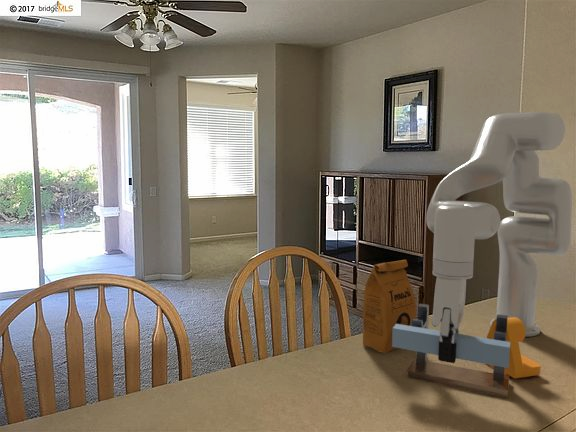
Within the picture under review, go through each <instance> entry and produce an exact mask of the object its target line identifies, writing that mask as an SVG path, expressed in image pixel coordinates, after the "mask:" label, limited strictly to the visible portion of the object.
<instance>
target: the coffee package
mask: <svg viewBox="0 0 576 432" xmlns="http://www.w3.org/2000/svg"><path fill="white" fill-rule="evenodd" d="M408 266H409V264H408V261H407V259H401V260H396V261H389V262H382V263H377V264H374V265H373V266H372V269H371V271H370V273H369V276H368V278H367V280H366V283H365V287H364V293H363V308H362V345H363V346H364V347H368V348H372V349H373V350H375V351H377V352H378V353H379V352H381V353H383V354H386V353H389V352H392V351H395V350H396V351H397V350H403V349H402V348H396V347H392V332H393V327H394V326H395V325H396V324H401V325H407V326H412V320H413V319H416V316H417V303H416V302H417V301H416V297H415V294H414V293H415V292H414V291H413V287H412V285H411V283H410V281H409V276H408V274H407V271H406V270H405V268H408Z"/></svg>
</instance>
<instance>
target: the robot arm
mask: <svg viewBox="0 0 576 432" xmlns="http://www.w3.org/2000/svg"><path fill="white" fill-rule="evenodd" d="M565 129H566V127H565V122H564V119H563V118H562V116H561V115H560V114H558V113H556V112H546V111H545V112H544V111H529V112H528V111H526V112H525V111H524V112H507V113H499V114H497V113H496V114H494V115H492V116H490V117H489V118H487V119H486V120H485V121H484V123H483V125H482V127H481V130H480V131H479V135H478V137H477V139H476V143H475V145H474V147H473V149H472V153H471V155H470V157H469V160H468V161H467V162H465V163H464V164H462V165H460V166H459V167H457V168H455V169H454V170H453V171H451V172H450V173H449V174H447V175H446V176H445V177H444V178H443V179H441V181H440V182H439V183H438V185H437V186H436V188H435V190H434V193H433V194H432V196H431V199H430V202H429V204H428V207H427V211H426V220H425V221H426V226H427V227H428V230H430V231H431V232H432V233H433V253H432V273H431V274H432V275H433V276H435V277H436V279H435V280H436V281H435V286H434V294H433V295H434V296H433V297H434V298H433V307H432V320H431V325H432V326H433V327H434V328H435V327H438V326H439V325H440V327H439V328H440V329H439V331H440V340H439V353H438V355H437V356H438V358H437V359H438V361H440V362H443V363H445V362H446V363H451V364H455V363H456V361H457V360H456V343H455V333H457V334H460V333H459V332H460V326H461V325H462V324H461V323H462V322H463V321H462V320H463V319H464V315H465V314H464V313H465V306H466V305H465V304H466V293H467V292H466V291H467V280H470V279H472V278H473V277H474V263H475V262H474V259H475V243H476V242H475V241H476V240H488V239H490V238H491V237H493V236H494V235H496V234H497V240H498V248H499V249H498V250H499V264H498V265H499V269H498V270H499V271H498V285H497V287H498V288H497V300H496V303H497V304H496V315H497V314H499V315H506V316H508V318H512V317H516V318H519V319H520V320H521V321H522V322H523V324H524V326H525V330H526V335H525V338H526V337H535V336H537V335H539V334H541V333H540V332H541V327H540V326H539V325H538V324H536V323H535V317H536V316H535V315H536V299H537V286H538V285H537V284H538V266H537V264H536V262H535V260H534V258H533V257H532V256H531V254H540V255H547V256H564V255H565V254H566V253H568V251H569V249H570V246H571V240H572V218H573V217H572V216H573V215H572V212H573V210H572V209H573V194H572V189H571V185H570V184H569V182H567V180H565V179H562V178H557V177H541V176H540V159H539V156H538V153H537V152H536V151H551V150H556V149H557V148H558V147H560V145H561V144H562V142H563V140H564V138H565ZM500 182H502V188H503V189H502V190H503V191H502V192H503V193H502V194H503V195H502V196H503V205H504V207H505V209H506V210H508V211H510V212H512V213H518V214H519V213H520V214H530V215H543V216H547V217H548V218H547V217H546V218H545V217H536V216H524V215H523V216H522V215H513V216H512V215H511V216H507V217H505V218H503V219H501V215H500V211H499V210H498V209H497V208H496V207H495V206H494V205H493V204H491V203H487V202H481V201H468V200H457V199H458V198H460V197H461V196H463V195H465V194H467V193H470V192H473V191H476V190H480V189H484V188H486V187H490V186H493V185H497V184H498V183H500ZM495 319H497V316H496V317H495V318H492V319H491V320H490V321H489V326H490V327H491V325H492V322H493V321H494V320H495ZM450 332H451V333H452V334H451V333H450Z"/></svg>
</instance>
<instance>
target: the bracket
mask: <svg viewBox="0 0 576 432" xmlns="http://www.w3.org/2000/svg"><path fill="white" fill-rule="evenodd" d="M494 319H495V318H494ZM495 331H496V319H495V320H494V321H493V322H492V325H491V326H490V328H489V329H488V333H487V335H486V338H488V339H494V332H495ZM525 335H526V330H525V326H524V324H523V322H522V321H521V320H520V319H519V318H516V317H512V318H508V319H507V336H506V342H510V356H509V367H508V368H505V369H504V376H509V377H512V378H513V379H520V378H527V377H532V376H538V375H541V367H542V366H541V364H540V363H538V362H536V361H534V360H532V359H530V358H529V357H526V356H525V355H523V354H522V353H521V349H520V344H519V342H520V343H521V342H523V341H524V340H525V338H526V337H525ZM488 367H489V368H492V369H493V370H494V365H489V364H488Z"/></svg>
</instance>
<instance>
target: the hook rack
mask: <svg viewBox="0 0 576 432" xmlns="http://www.w3.org/2000/svg"><path fill="white" fill-rule="evenodd" d="M429 309H430V305H429V304H426V303H419V304H418V305H417V319H416V318H415V319H413V320H412V326H413V327H420V328H426V329H429V315H430V313H429V311H430V310H429ZM496 317H497V319H496V331H495V332H494V340H500V341H506V336H507V319H508V316H506V315H499V314H497V313H496ZM504 369H505V367H500V366H494V369H493V372H488V371H483V370H478V369H471V368H466V367H461V366H455V365H451V364H445V363H441V362H440V363H439V362H434V361H430V360H429V361H428V353H423V352H418V351H415V358H413V360H412V362H411V364H410V365H409V366H408V368H407V370H406V377H407V378H409V379H416V380H419V381H424V382H430V383H434V384H438V385H444V386H449V387H454V388H458V389H461V390H462V389H464V390H469V391H472V392H476V393H477V392H478V393H483V394H488V395H492V396H497V397H501V398H502V397H503V398H507V399H508V397H509V388H510V387H509V386H510V376H504Z"/></svg>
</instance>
